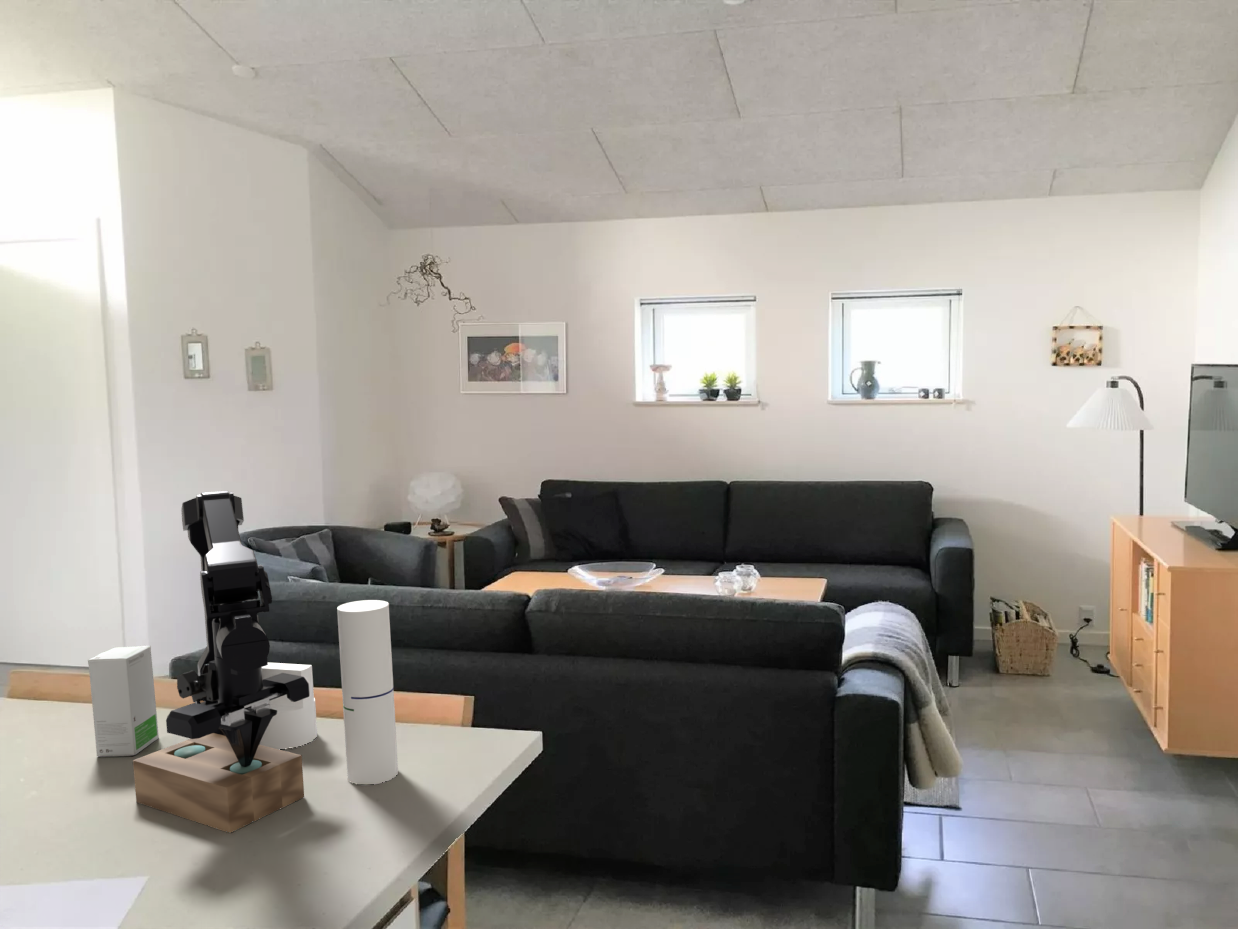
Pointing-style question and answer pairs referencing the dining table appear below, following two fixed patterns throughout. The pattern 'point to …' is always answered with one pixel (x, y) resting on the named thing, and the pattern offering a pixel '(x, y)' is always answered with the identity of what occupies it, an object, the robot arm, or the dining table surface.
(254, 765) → the peg
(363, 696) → the cylindrical container
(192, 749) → the peg
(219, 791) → the socket block
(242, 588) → the robot arm
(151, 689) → the skincare box
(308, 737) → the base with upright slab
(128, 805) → the dining table surface
